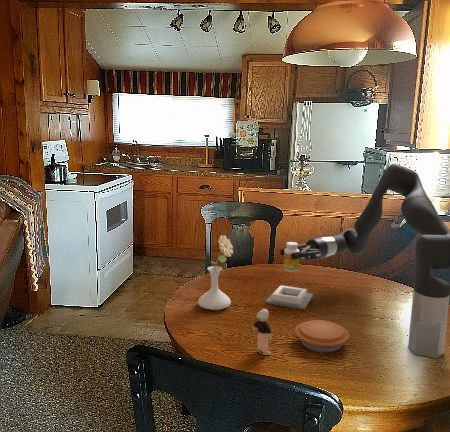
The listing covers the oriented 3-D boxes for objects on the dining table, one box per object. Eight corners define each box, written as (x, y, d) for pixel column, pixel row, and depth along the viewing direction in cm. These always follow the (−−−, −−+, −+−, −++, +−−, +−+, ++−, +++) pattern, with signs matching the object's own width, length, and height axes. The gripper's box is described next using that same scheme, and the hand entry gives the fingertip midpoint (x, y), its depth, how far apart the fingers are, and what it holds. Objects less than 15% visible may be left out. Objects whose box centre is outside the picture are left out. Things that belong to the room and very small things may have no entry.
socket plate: (304, 309, 158) (304, 301, 157) (265, 303, 163) (265, 295, 163) (313, 295, 171) (313, 288, 170) (276, 290, 176) (276, 282, 175)
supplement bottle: (295, 273, 161) (296, 246, 159) (281, 270, 164) (281, 243, 162) (301, 268, 166) (302, 242, 164) (287, 266, 168) (288, 240, 166)
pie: (291, 331, 142) (292, 315, 141) (342, 332, 142) (343, 317, 141) (297, 356, 127) (298, 339, 126) (354, 357, 127) (355, 340, 126)
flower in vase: (212, 316, 152) (212, 242, 147) (191, 305, 161) (190, 235, 156) (241, 306, 161) (242, 236, 156) (219, 296, 169) (220, 230, 164)
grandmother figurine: (277, 354, 128) (279, 311, 125) (269, 359, 125) (270, 315, 122) (256, 345, 133) (257, 303, 130) (247, 349, 130) (248, 307, 127)
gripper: (308, 233, 176) (273, 239, 167) (336, 241, 164) (300, 248, 155) (307, 252, 178) (273, 259, 169) (335, 262, 166) (299, 270, 157)
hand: (286, 254), depth 162 cm, fingers closed on supplement bottle, 5 cm apart
